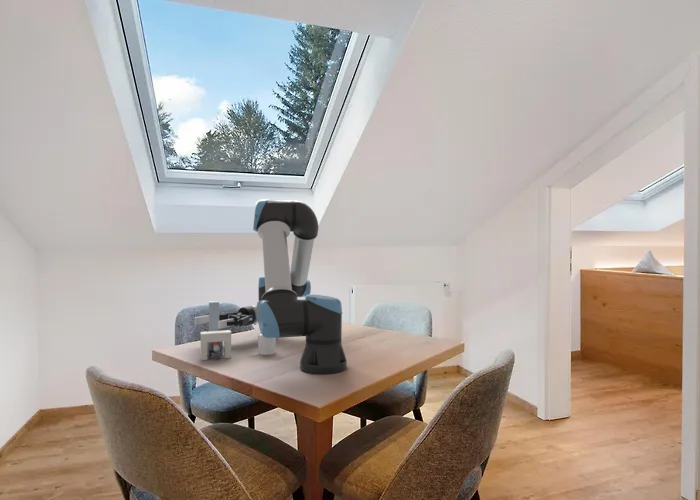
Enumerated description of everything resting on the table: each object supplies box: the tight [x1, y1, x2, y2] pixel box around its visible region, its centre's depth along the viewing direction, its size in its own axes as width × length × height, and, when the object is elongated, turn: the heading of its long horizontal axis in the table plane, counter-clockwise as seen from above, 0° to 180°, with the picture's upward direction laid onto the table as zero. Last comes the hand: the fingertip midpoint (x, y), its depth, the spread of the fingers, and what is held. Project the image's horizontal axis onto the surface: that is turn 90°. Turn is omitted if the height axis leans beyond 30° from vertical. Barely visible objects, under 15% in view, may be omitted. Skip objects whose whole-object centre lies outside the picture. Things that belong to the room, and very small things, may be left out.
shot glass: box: [257, 332, 277, 356], centre depth 159 cm, size 7×7×7 cm
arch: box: [200, 329, 232, 361], centre depth 152 cm, size 4×10×9 cm, turn 110°
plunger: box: [211, 342, 220, 353], centre depth 151 cm, size 9×3×3 cm, turn 20°
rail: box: [210, 350, 222, 360], centre depth 162 cm, size 24×3×2 cm, turn 20°
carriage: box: [207, 300, 224, 357], centre depth 160 cm, size 11×5×18 cm, turn 20°
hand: (206, 322), depth 161 cm, fingers open, 13 cm apart
